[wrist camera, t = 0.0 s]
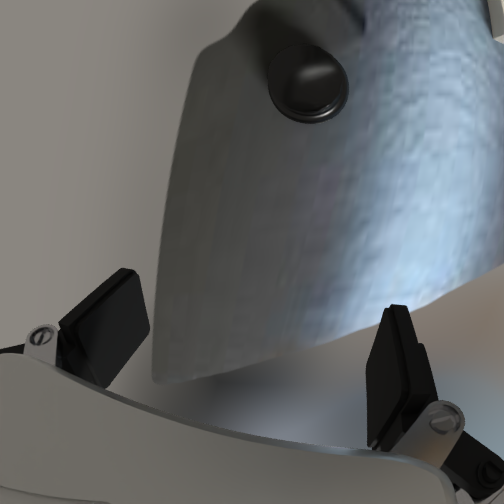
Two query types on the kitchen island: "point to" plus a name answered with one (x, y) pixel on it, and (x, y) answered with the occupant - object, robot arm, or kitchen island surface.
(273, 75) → the ink bottle
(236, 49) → the kitchen island surface
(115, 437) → the robot arm
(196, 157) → the kitchen island surface
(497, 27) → the strip
